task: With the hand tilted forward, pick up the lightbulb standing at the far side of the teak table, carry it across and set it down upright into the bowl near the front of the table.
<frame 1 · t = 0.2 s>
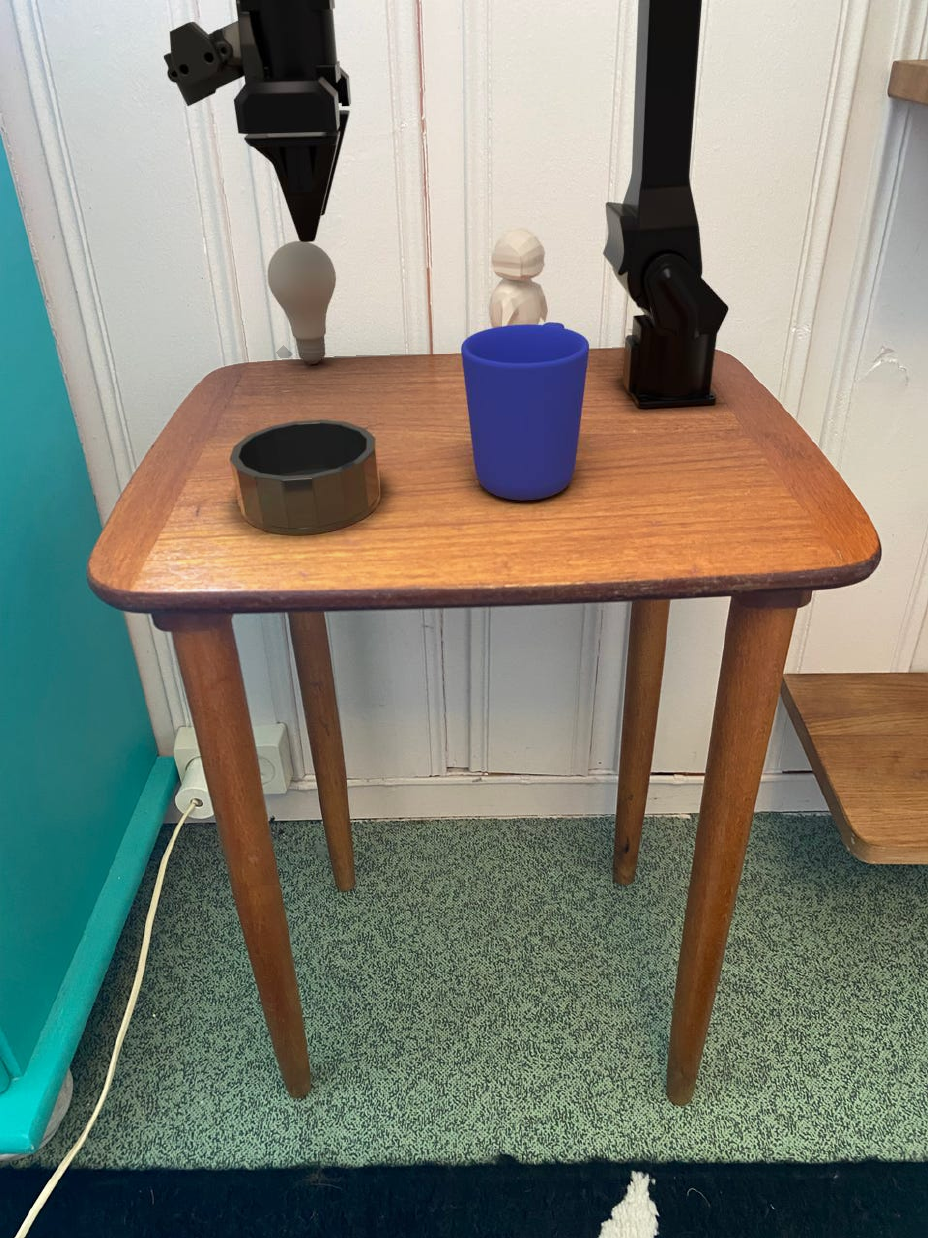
hand: (312, 227, 68), 15 cm above the table, tool pointing down, fingers open, 9 cm apart
bowl: (311, 501, 63), on the table
figurine: (515, 368, 84), on the table
mug: (532, 475, 66), on the table
lightbulb: (313, 365, 87), on the table
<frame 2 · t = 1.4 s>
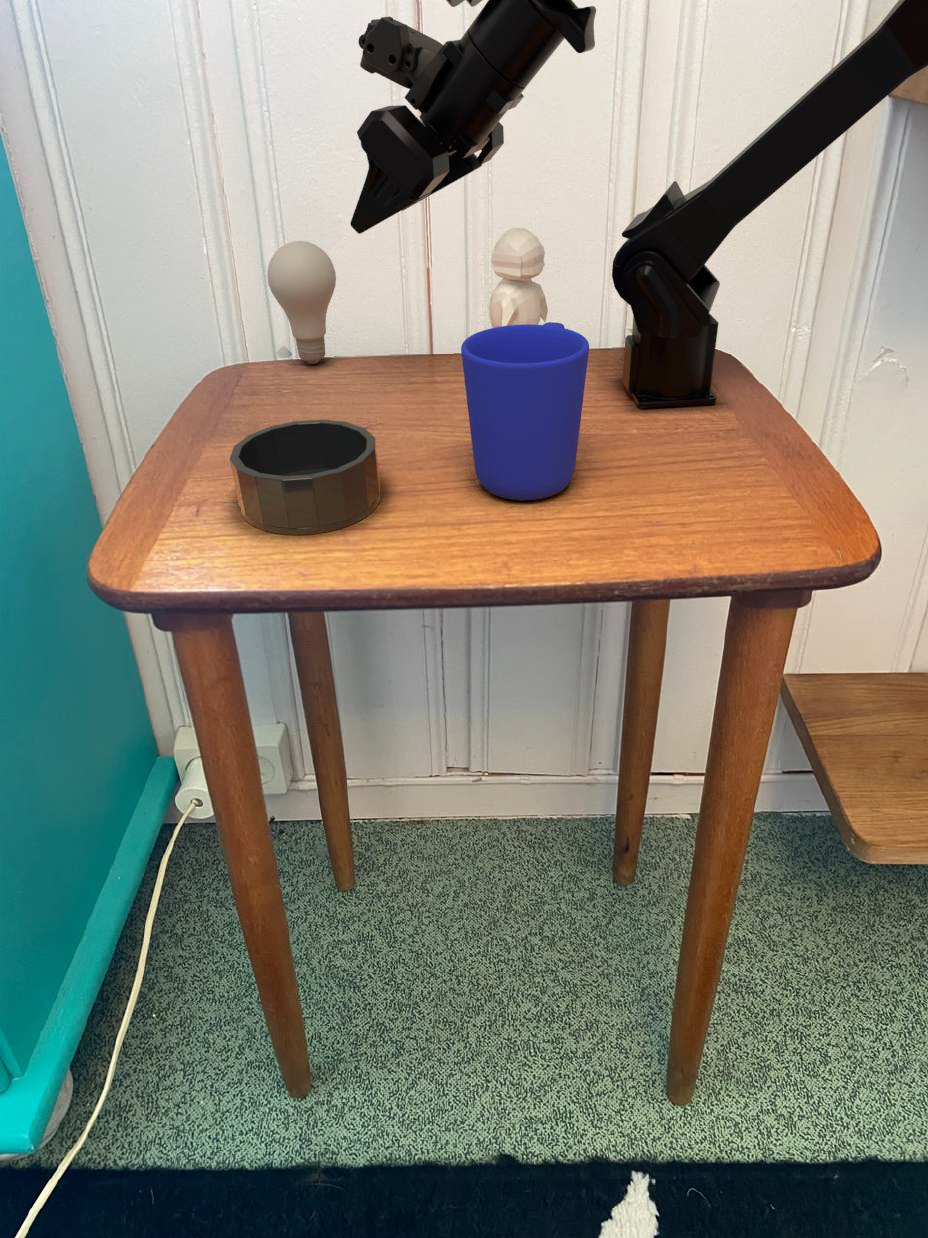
hand: (377, 217, 77), 13 cm above the table, tool tilted 45°, fingers open, 9 cm apart
nothing on the table moved.
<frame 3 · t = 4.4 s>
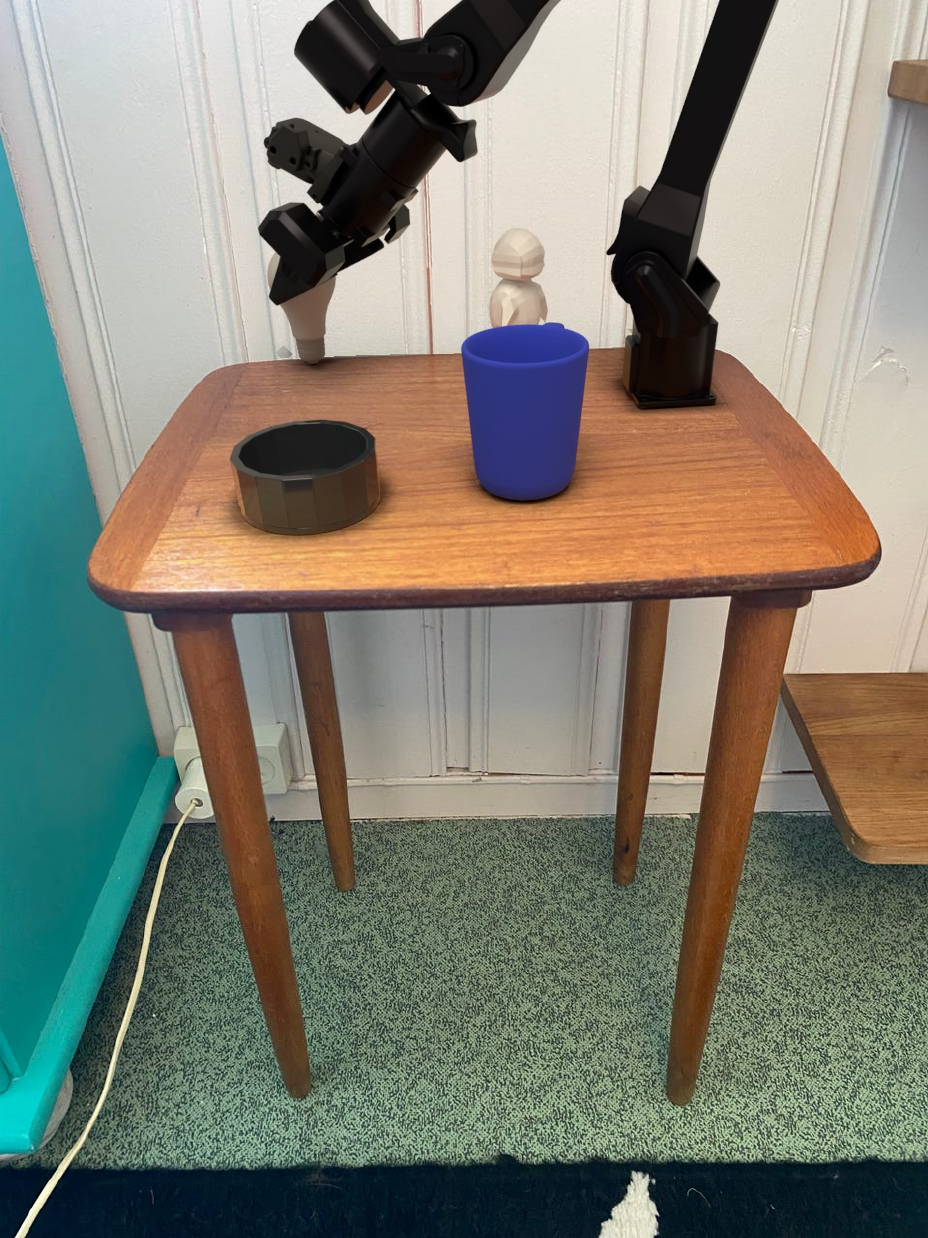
hand: (290, 291, 84), 7 cm above the table, tool tilted 45°, fingers closed on lightbulb, 6 cm apart
lightbulb: (313, 365, 87), on the table, touching gripper
everything else where it was.
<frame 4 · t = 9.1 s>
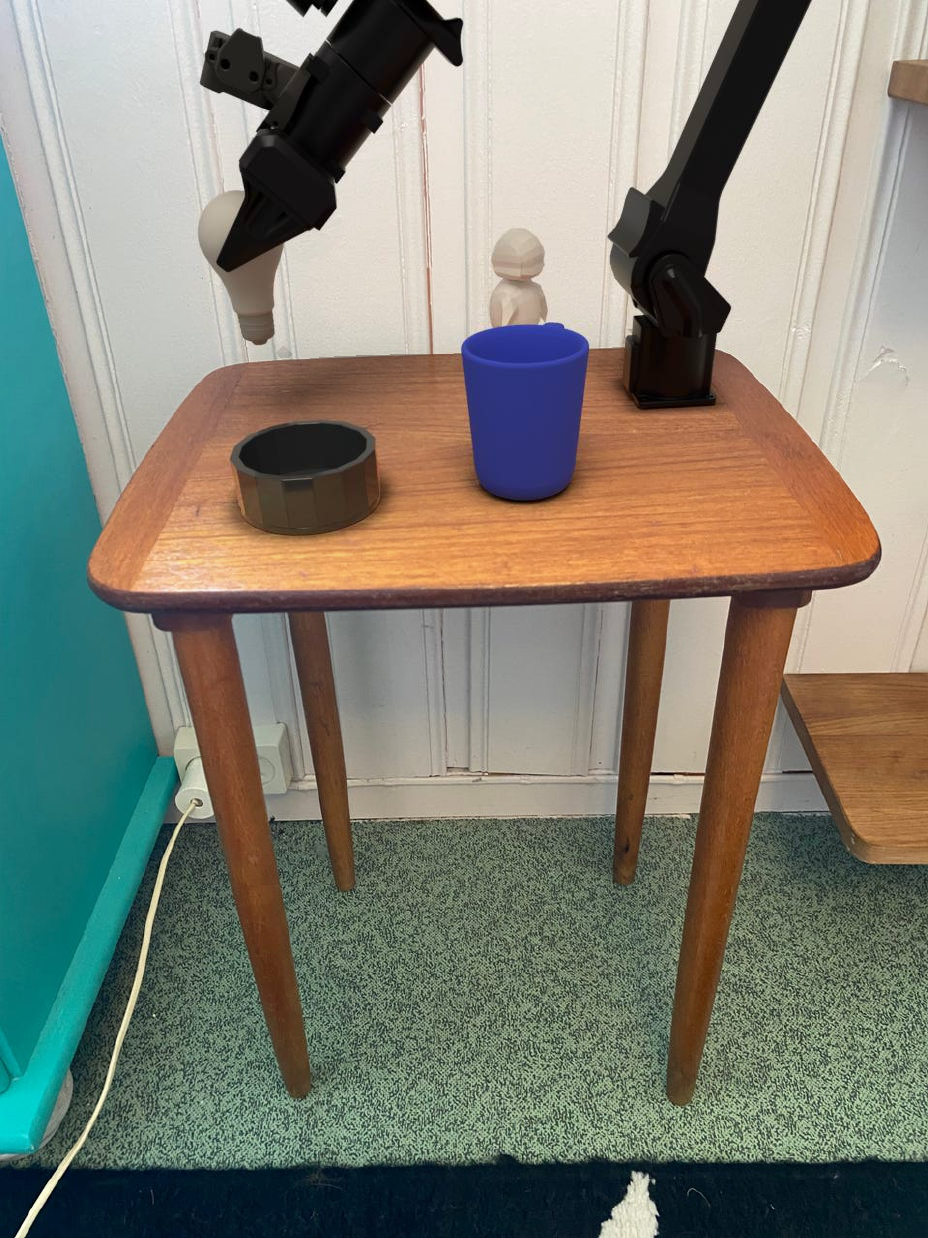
hand: (226, 256, 67), 13 cm above the table, tool tilted 45°, fingers closed on lightbulb, 6 cm apart
lightbulb: (260, 347, 71), point 6 cm above the table, touching gripper
everything else where it was.
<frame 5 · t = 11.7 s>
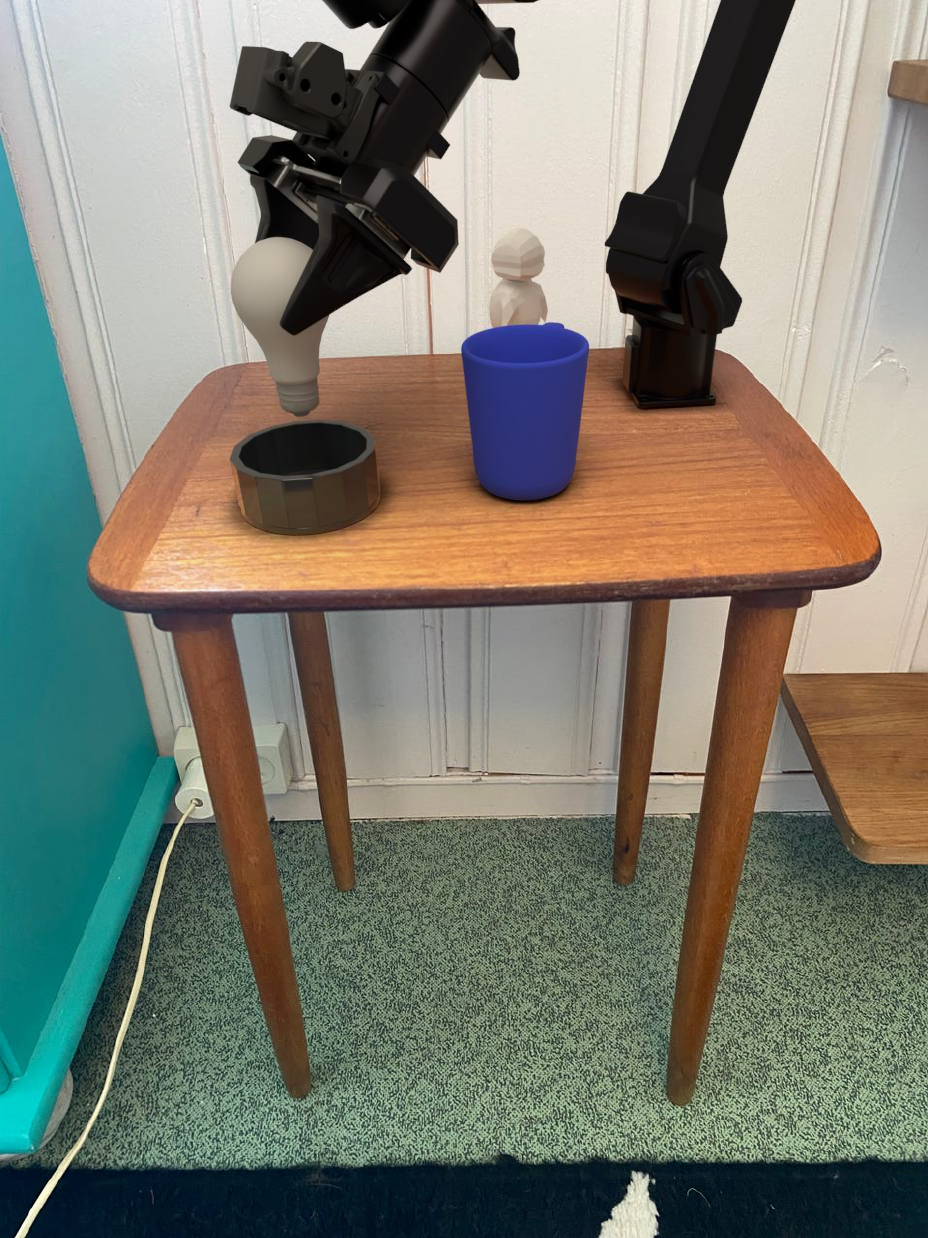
hand: (265, 318, 55), 13 cm above the table, tool tilted 45°, fingers closed on lightbulb, 6 cm apart
lightbulb: (302, 418, 60), point 6 cm above the table, touching gripper
everything else where it was.
when the fingers open (7 cm above the table, at t = 13.8 s): lightbulb stays where it is, resting on bowl.
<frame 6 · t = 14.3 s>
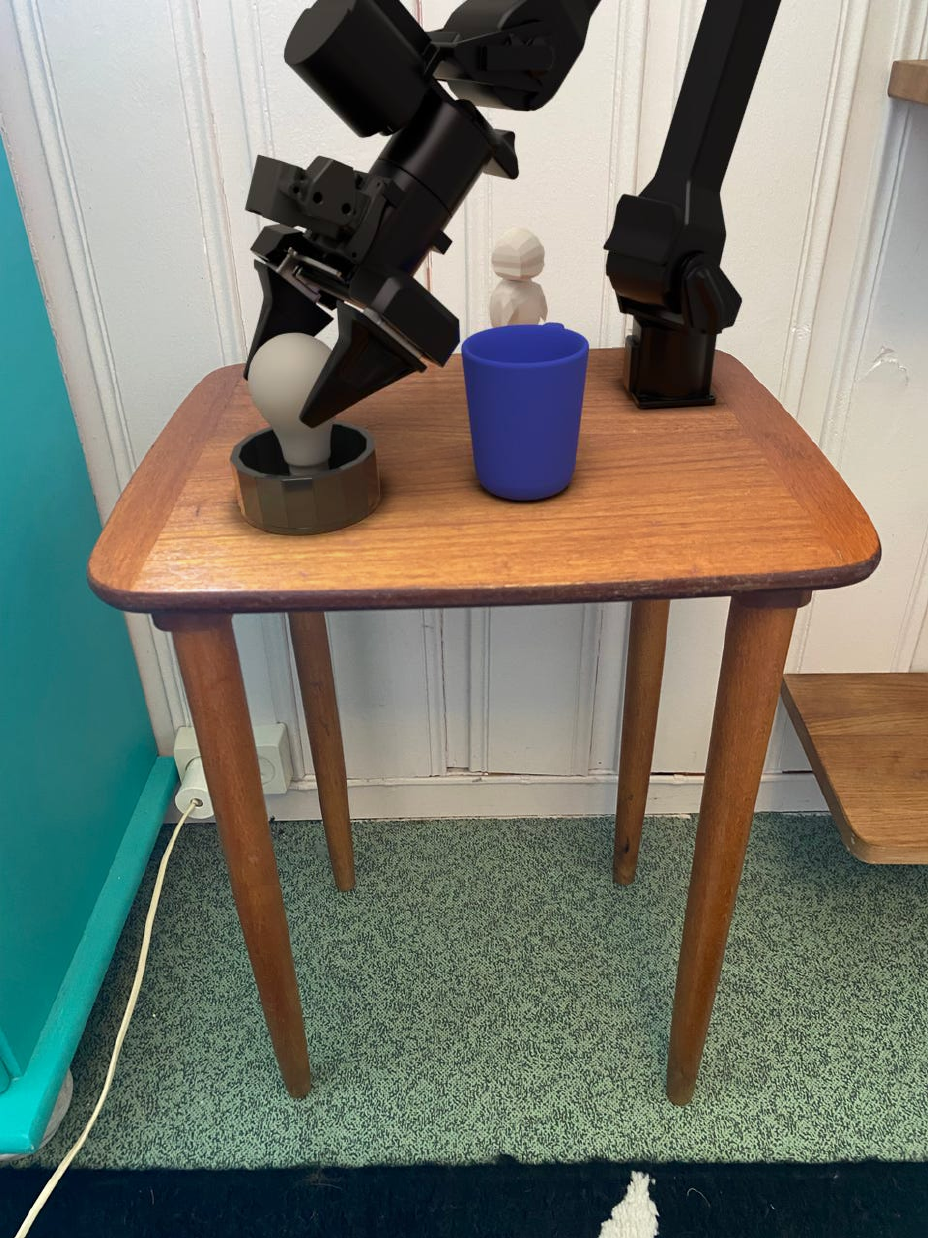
hand: (275, 402, 58), 8 cm above the table, tool tilted 45°, fingers open, 9 cm apart
lightbulb: (313, 496, 63), resting on bowl
everything else where it was.
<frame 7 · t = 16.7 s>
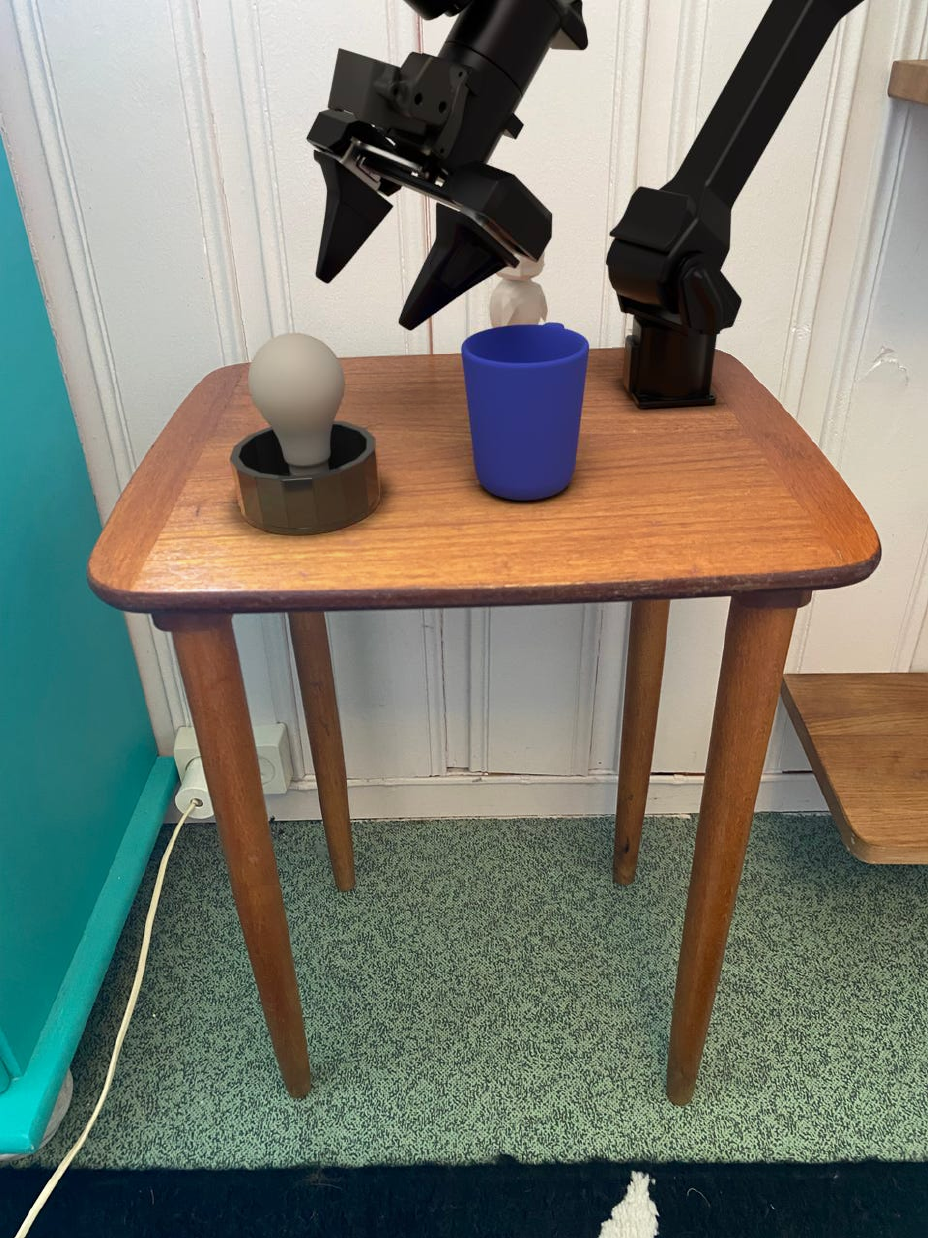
hand: (361, 302, 60), 12 cm above the table, tool tilted 40°, fingers open, 9 cm apart
nothing on the table moved.
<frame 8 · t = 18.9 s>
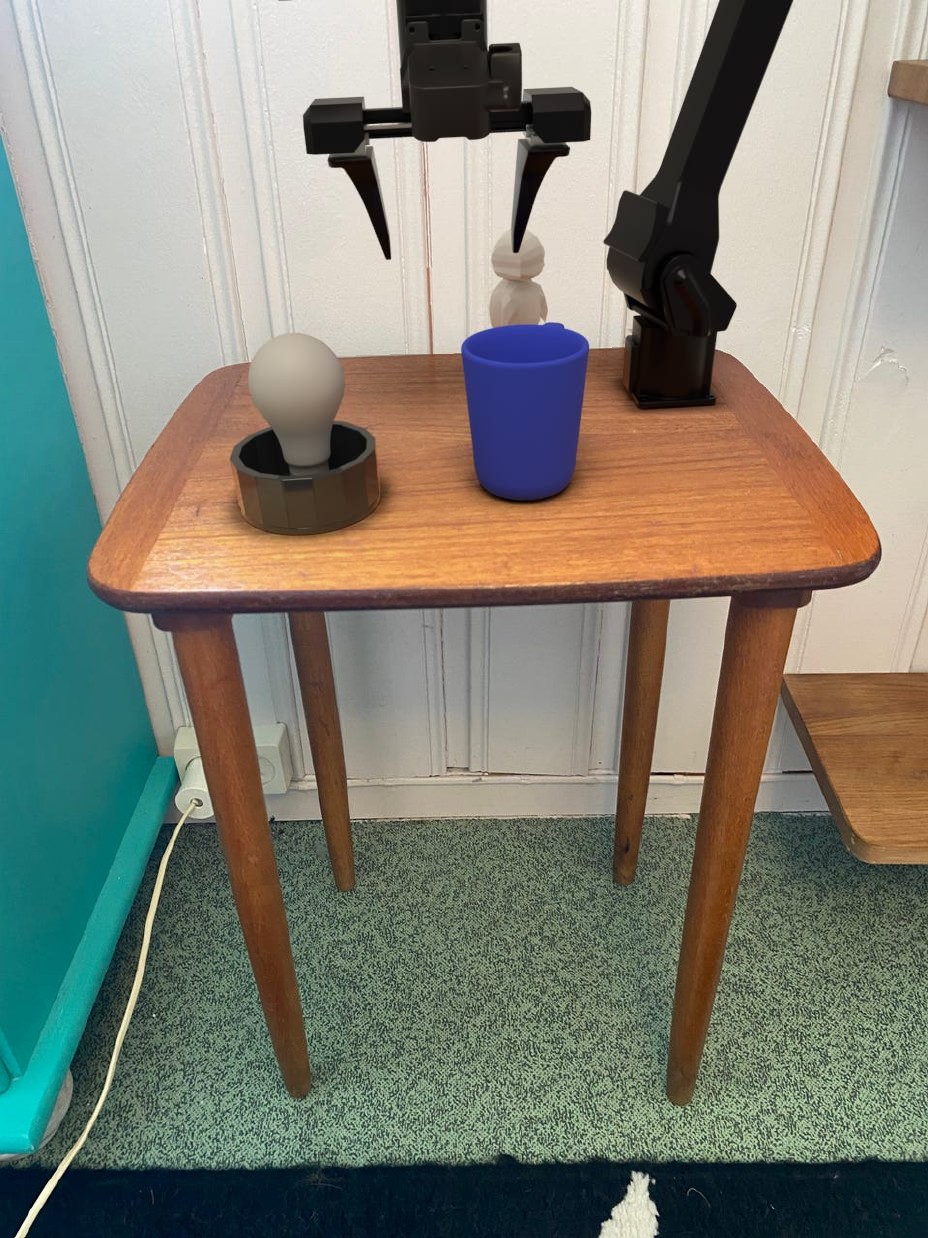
hand: (452, 255, 66), 13 cm above the table, tool pointing down, fingers open, 9 cm apart
nothing on the table moved.
at the end: lightbulb 0.2 cm off-centre in the bowl, point 0.3 cm above the bowl's base; lightbulb tilted 0°; the gripper is holding nothing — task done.
